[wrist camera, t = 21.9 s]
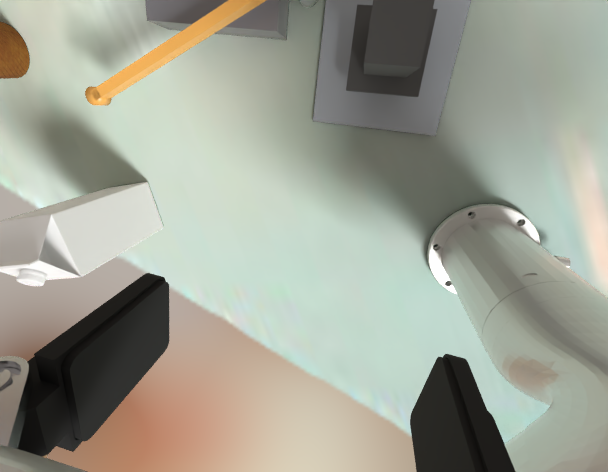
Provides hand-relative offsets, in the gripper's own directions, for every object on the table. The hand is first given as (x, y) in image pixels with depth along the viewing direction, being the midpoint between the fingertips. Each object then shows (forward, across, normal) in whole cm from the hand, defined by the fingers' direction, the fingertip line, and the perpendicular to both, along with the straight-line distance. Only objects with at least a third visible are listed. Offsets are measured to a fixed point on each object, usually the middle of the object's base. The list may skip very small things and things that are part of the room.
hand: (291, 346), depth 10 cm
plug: (+30, -1, -13) cm, 33 cm away
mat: (+31, -1, -13) cm, 33 cm away
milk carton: (+30, +29, +11) cm, 44 cm away
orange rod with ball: (+24, +18, -11) cm, 32 cm away
